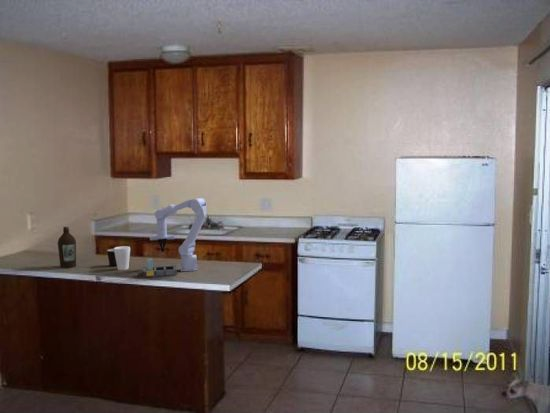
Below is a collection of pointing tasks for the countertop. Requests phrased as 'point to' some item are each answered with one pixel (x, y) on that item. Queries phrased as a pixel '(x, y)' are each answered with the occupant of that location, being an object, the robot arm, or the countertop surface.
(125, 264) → the foam cup
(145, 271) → the rack
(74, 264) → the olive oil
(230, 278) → the countertop surface
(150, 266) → the panel
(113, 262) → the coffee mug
